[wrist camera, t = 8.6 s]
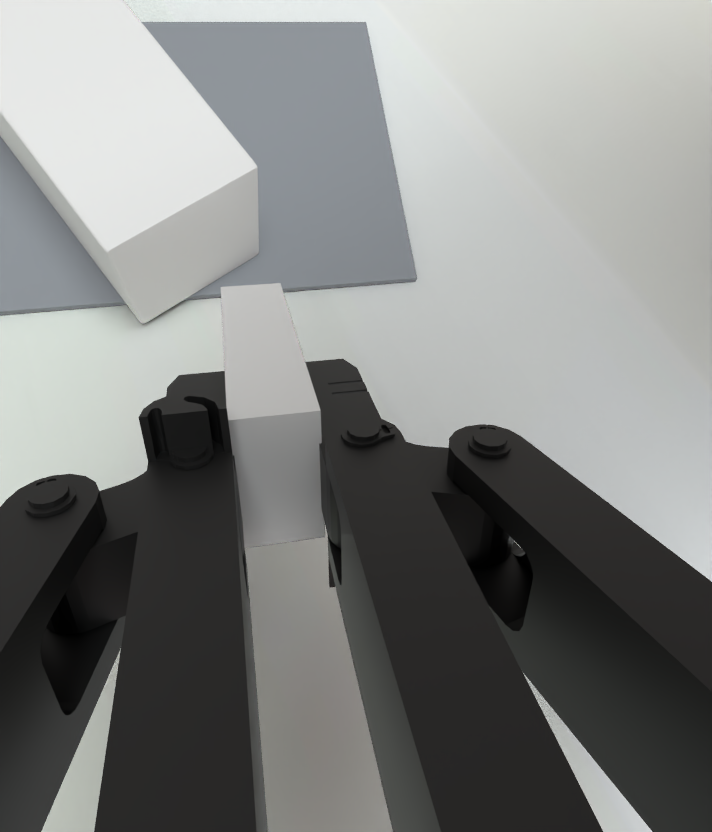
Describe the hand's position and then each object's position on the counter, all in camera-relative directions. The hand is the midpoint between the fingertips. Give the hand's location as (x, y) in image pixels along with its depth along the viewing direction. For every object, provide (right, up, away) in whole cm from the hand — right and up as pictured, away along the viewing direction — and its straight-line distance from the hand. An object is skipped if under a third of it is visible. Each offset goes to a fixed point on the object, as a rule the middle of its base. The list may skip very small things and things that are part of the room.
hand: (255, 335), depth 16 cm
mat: (-6, +12, +17) cm, 22 cm away
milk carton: (-4, +5, +11) cm, 13 cm away
